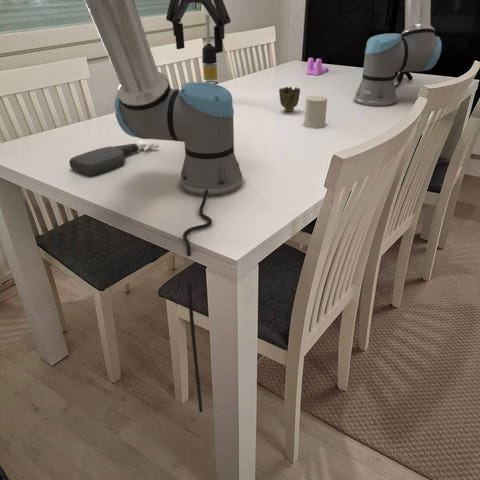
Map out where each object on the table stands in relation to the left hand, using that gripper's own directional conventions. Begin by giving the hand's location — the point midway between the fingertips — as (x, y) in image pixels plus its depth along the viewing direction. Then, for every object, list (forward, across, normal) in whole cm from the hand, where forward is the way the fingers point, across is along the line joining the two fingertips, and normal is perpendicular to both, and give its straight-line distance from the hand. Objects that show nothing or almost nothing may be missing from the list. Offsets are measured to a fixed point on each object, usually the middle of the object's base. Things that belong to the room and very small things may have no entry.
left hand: (199, 50), depth 126 cm
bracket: (+26, +9, -105) cm, 109 cm away
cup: (+26, -10, -38) cm, 47 cm away
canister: (+26, -24, -29) cm, 46 cm away
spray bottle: (+25, +10, +27) cm, 38 cm away
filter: (+26, +26, -39) cm, 53 cm away
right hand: (-7, -63, -51) cm, 81 cm away
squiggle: (+26, -30, -106) cm, 114 cm away
